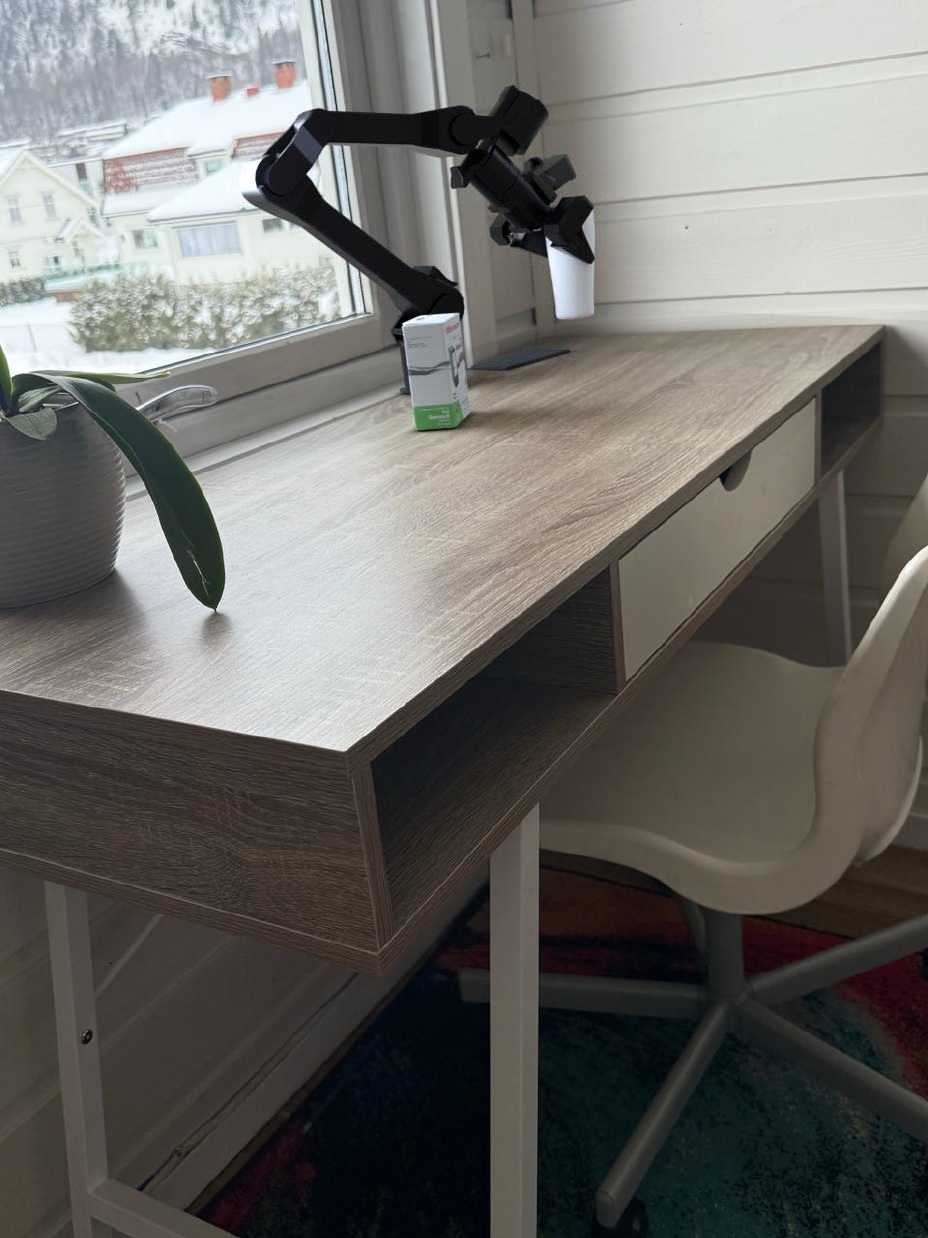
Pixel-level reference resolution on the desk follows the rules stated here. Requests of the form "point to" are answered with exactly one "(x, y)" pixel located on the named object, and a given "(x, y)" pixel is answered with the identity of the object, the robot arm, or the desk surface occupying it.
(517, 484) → the desk surface
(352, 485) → the desk surface
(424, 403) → the ink box
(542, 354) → the mat
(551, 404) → the desk surface
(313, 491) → the desk surface
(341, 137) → the robot arm
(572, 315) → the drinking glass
